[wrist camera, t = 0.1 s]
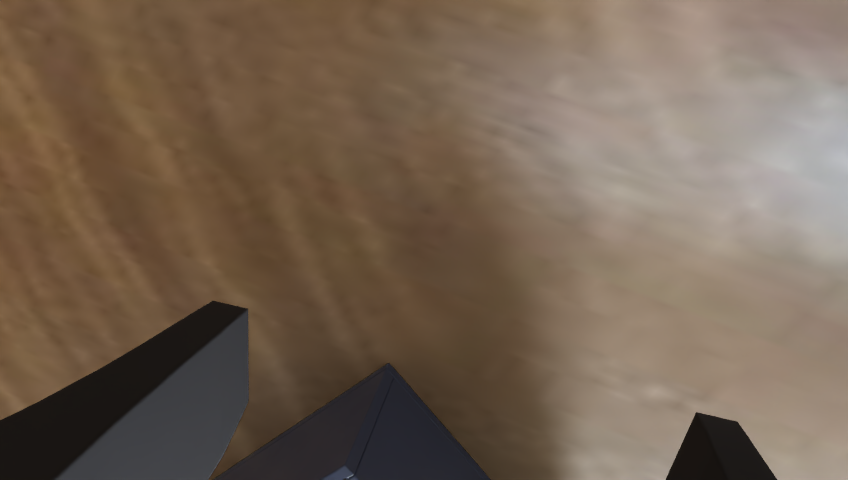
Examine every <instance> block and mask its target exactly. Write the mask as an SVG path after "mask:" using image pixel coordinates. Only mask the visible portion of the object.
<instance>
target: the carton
mask: <svg viewBox="0 0 848 480" xmlns="http://www.w3.org/2000/svg"><path fill="white" fill-rule="evenodd" d="M344 478H347V479H348V480H490V478H489V477H488V476H487V475H486V474H485V473H484V471H483V470H482V469H481V468H480V467H479V466H478V465H477V463H476V462H475V461H474V460H473V459H472V458H471V457H470V455H469V454H468V453H467V452H466V451H465V450H464V448H463V447H462V446H461V445H460V444H459V443H458V442H457V440H456V439H455V438H454V437H453V436H452V435H451V434H450V432H449V431H448V430H447V429H446V428H445V427H444V425H443V424H442V423H441V422H440V421H439V420H438V419H437V417H436V416H435V415H434V414H433V413H432V412H431V411H430V409H429V408H428V407H427V406H426V405H425V404H424V403H423V401H422V400H421V399H420V398H419V397H418V396H417V394H416V393H415V392H414V391H413V390H412V389H411V388H410V386H409V385H408V384H407V383H406V382H405V381H404V380H403V378H402V377H401V376H400V375H399V374H398V373H397V371H396V370H395V369H394V368H393V367H392V366H391V365H390V364H389V363H388V364H386V365H385V366H383V367H382V368H380V369H379V370H377V371H376V372H374V373H373V374H371V375H370V376H368V377H367V378H365V379H364V380H362V381H361V382H359V383H358V384H356V385H355V386H353V387H352V388H350V389H349V390H347V391H346V392H344V393H343V394H341V395H340V396H338V397H337V398H335V399H334V400H332V401H331V402H329V403H328V404H326V405H325V406H323V407H322V408H320V409H319V410H317V411H316V412H314V413H313V414H311V415H310V416H308V417H306V418H305V419H303V420H302V421H300V422H299V423H297V424H296V425H294V426H293V427H291V428H290V429H288V430H287V431H285V432H284V433H282V434H281V435H279V436H278V437H276V438H275V439H273V440H272V441H270V442H269V443H267V444H266V445H264V446H263V447H261V448H260V449H258V450H257V451H255V452H254V453H252V454H251V455H249V456H248V457H246V458H245V459H243V460H242V461H240V462H239V463H237V464H236V465H234V466H233V467H231V468H230V469H228V470H227V471H225V472H224V473H222V474H221V475H219V476H218V477H216V478H215V479H213V480H343V479H344Z"/></svg>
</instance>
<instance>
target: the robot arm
mask: <svg viewBox="0 0 848 480" xmlns="http://www.w3.org/2000/svg"><path fill="white" fill-rule="evenodd" d="M248 401H249V373H248V309H247V308H243V307H238V306H234V305H230V304H225V303H221V302H217V301H212V302H210V303H208V304H207V305H205V306H203V307H202V308H200V309H198V310H197V311H195V312H193V313H192V314H190V315H188V316H187V317H185V318H184V319H182V320H180V321H179V322H177V323H175V324H174V325H172V326H171V327H169V328H167V329H166V330H164V331H162V332H161V333H159V334H158V335H156V336H154V337H153V338H151V339H149V340H148V341H146V342H144V343H143V344H141V345H139V346H138V347H136V348H134V349H133V350H131V351H129V352H128V353H126V354H124V355H123V356H121V357H119V358H117V359H116V360H114V361H112V362H111V363H109V364H107V365H106V366H104V367H102V368H100V369H99V370H97V371H95V372H93V373H91V374H89V375H88V376H86V377H84V378H82V379H80V380H78V381H76V382H74V383H73V384H71V385H69V386H67V387H65V388H63V389H61V390H60V391H58V392H56V393H54V394H52V395H50V396H48V397H47V398H45V399H43V400H41V401H39V402H37V403H35V404H33V405H31V406H29V407H27V408H25V409H23V410H21V411H19V412H17V413H15V414H13V415H11V416H8V417H6V418H4V419H2V420H0V480H208V479H209V478H210V476H211V474H212V473H213V471H214V470H215V468H216V466H217V465H218V463H219V461H220V460H221V458H222V457H223V455H224V453H225V451H226V449H227V447H228V444H229V442H230V440H231V438H232V436H233V434H234V432H235V430H236V428H237V426H238V423H239V421H240V419H241V417H242V415H243V412H244V410H245V408H246V406H247V404H248ZM666 480H777V479H776V477H775V476H774V474H773V473H772V471H771V470H770V469H769V467H768V466H767V464H766V463H765V461H764V460H763V458H762V457H761V455H760V454H759V452H758V451H757V449H756V448H755V446H754V445H753V443H752V442H751V440H750V439H749V438H748V436H747V435H746V433H745V432H744V430H743V429H742V428H741V426H740V425H739V423H738V422H736V421H732V420H727V419H723V418H719V417H715V416H710V415H706V414H702V413H697V412H696V414H695V416H694V418H693V421H692V423H691V425H690V427H689V429H688V432H687V434H686V436H685V438H684V440H683V443H682V445H681V447H680V449H679V451H678V454H677V456H676V458H675V460H674V462H673V465H672V467H671V469H670V471H669V474H668V476H667V478H666Z"/></svg>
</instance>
